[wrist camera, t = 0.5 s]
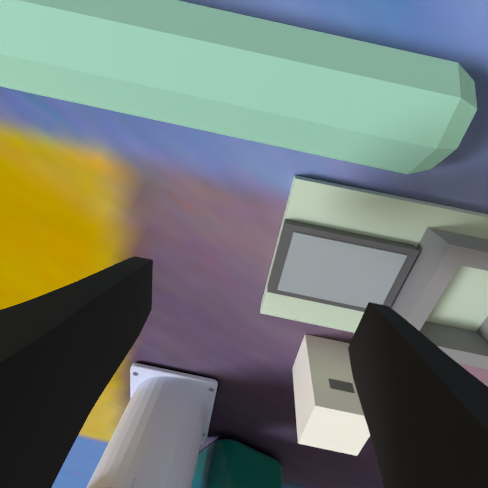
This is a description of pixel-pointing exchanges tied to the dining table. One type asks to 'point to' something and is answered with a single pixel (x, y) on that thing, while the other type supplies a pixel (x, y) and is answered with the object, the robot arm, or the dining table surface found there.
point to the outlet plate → (382, 264)
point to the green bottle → (236, 467)
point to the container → (240, 78)
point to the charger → (327, 397)
